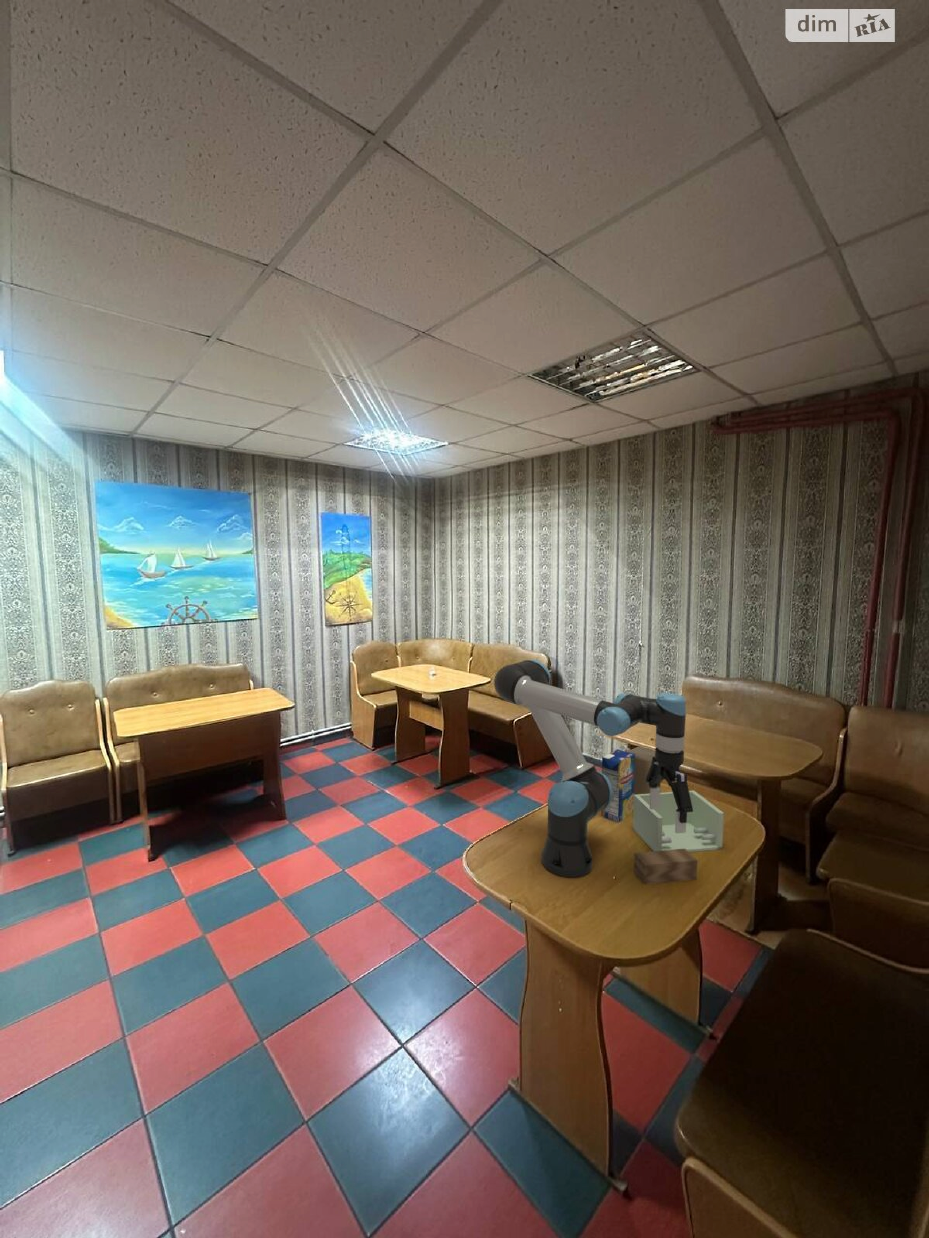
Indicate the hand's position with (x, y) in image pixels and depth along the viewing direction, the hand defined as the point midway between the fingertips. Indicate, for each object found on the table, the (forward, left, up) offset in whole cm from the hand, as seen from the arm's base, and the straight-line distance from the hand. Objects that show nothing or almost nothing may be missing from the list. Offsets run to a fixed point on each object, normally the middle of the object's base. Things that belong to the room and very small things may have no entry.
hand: (666, 819), depth 142 cm
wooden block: (+15, +43, -17) cm, 48 cm away
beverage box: (+2, +36, -17) cm, 39 cm away
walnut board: (0, 0, -17) cm, 17 cm away
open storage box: (+14, +18, -17) cm, 28 cm away
